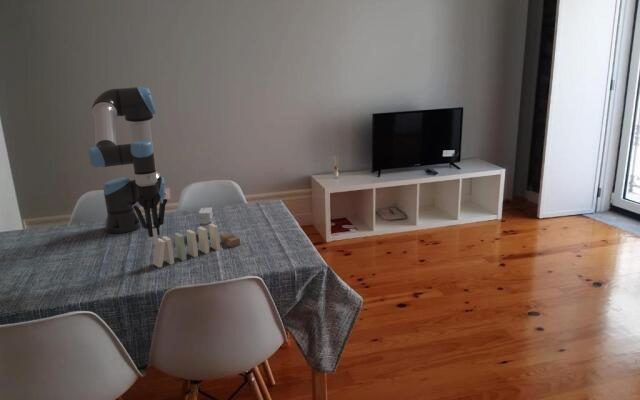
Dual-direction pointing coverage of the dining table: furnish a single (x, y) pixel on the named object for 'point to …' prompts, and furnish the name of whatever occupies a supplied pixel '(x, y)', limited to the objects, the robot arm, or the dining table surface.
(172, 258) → the domino
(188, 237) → the domino
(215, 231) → the domino
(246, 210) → the dining table surface
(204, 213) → the ink box
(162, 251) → the domino
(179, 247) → the domino
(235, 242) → the end block
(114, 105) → the robot arm
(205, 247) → the domino
